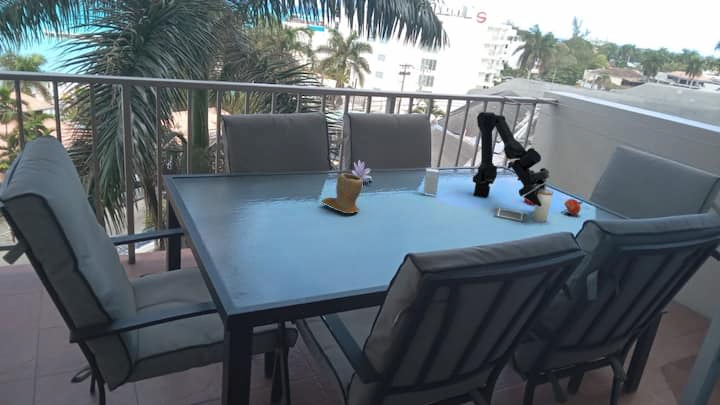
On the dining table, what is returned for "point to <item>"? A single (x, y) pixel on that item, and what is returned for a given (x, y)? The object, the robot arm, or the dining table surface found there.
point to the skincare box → (431, 181)
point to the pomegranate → (573, 206)
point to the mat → (510, 215)
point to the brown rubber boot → (346, 193)
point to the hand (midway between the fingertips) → (543, 203)
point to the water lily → (361, 171)
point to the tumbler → (542, 205)
